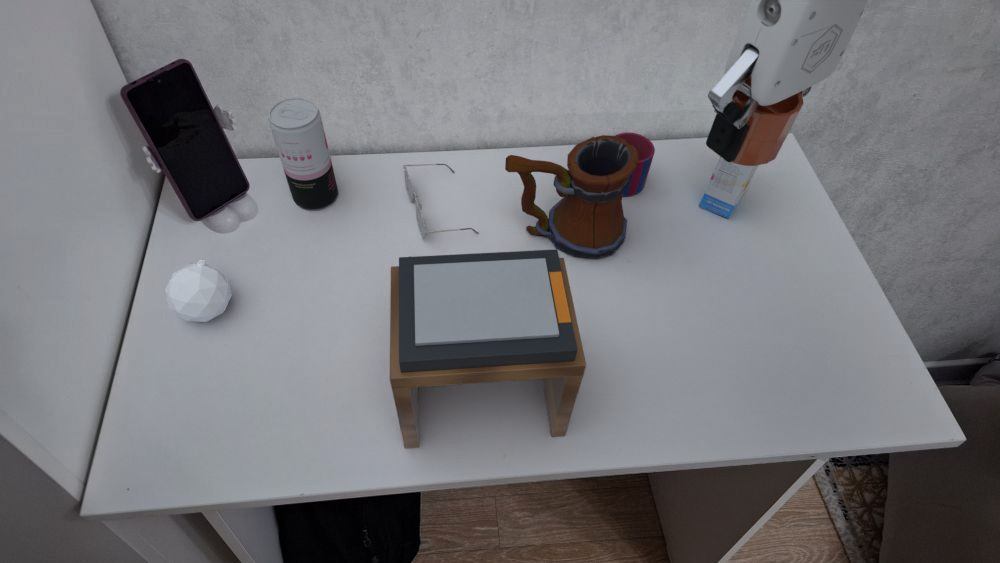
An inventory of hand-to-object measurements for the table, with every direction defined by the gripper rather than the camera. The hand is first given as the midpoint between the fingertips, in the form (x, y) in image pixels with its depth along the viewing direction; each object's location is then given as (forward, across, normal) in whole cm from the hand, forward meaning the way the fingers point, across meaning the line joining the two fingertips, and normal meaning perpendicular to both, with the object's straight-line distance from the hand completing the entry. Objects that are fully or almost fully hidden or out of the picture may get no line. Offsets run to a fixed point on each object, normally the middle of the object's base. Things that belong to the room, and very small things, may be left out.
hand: (746, 138), depth 58 cm
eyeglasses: (+28, -16, +32) cm, 46 cm away
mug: (+28, -3, +18) cm, 34 cm away
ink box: (+28, +22, +11) cm, 37 cm away
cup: (+28, +10, +23) cm, 38 cm away
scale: (+12, -27, +4) cm, 30 cm away
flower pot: (+1, 0, 0) cm, 1 cm away
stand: (+28, -27, +4) cm, 39 cm away
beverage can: (+28, -30, +44) cm, 60 cm away
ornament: (+28, -50, +33) cm, 66 cm away
